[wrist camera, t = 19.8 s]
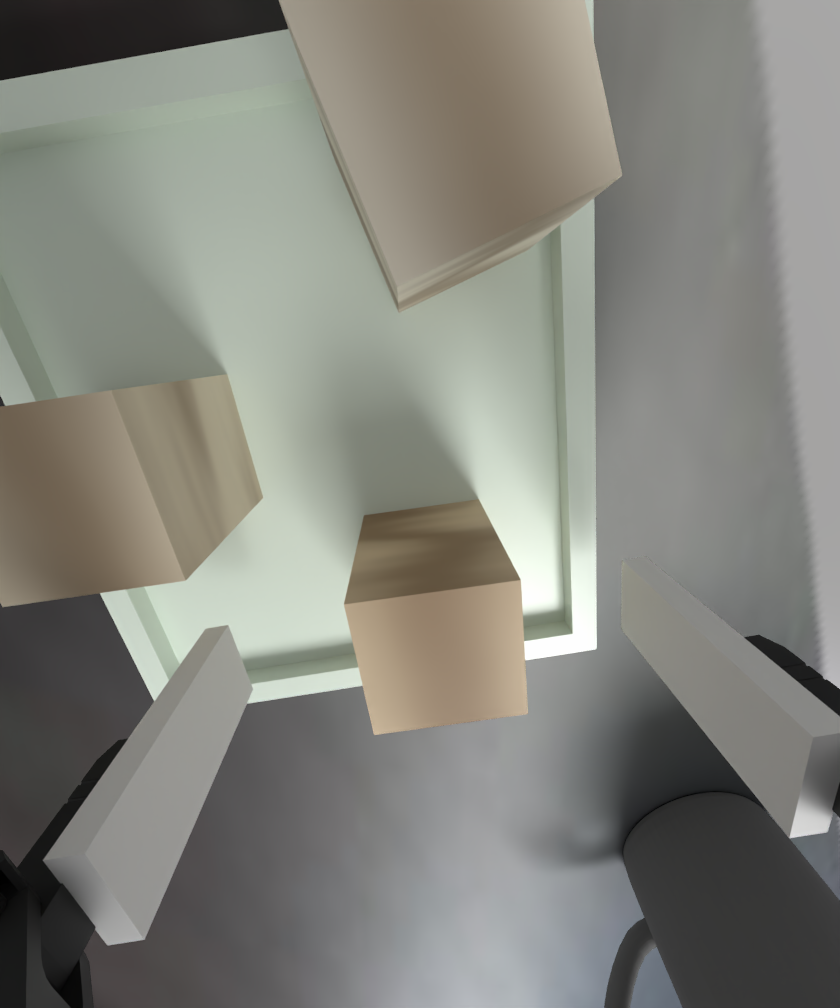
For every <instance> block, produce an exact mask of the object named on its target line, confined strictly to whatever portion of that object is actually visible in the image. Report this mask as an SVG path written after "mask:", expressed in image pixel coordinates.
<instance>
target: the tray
mask: <svg viewBox="0 0 840 1008" xmlns="http://www.w3.org/2000/svg"><path fill="white" fill-rule="evenodd" d="M585 4H586V8H587V13H588V18H589V22H590V27H591V31H592V36H593V41H594V32H593V0H585ZM225 374H228V378H229V381H230V385H231V388H232V392H233V395H234V399H235V402H236V405H237V409H238V412H239V416H240V419H241V423H242V426H243V430H244V433H245V436H246V440H247V443H248V447H249V450H250V454H251V457H252V460H253V464H254V467H255V471H256V474H257V478H258V481H259V485H260V488H261V491H262V495H263V499H262V500H261V501H260V502H259V503H258V504H257V505H256V506H255V507H254V508H253V509H252V510H251V511H250V512H249V514H248V515H247V516H246V517H245V518H244V519H243V520H242V521H241V522H240V523H239V524H238V525H237V526H236V527H235V529H234V530H233V531H232V532H231V533H230V534H229V535H228V536H227V537H226V538H225V539H224V540H223V541H222V542H221V543H220V545H219V546H218V547H217V548H216V549H215V550H214V551H213V552H212V553H211V554H210V555H209V556H208V557H207V558H206V560H205V561H204V562H203V563H202V564H201V565H200V566H199V567H198V568H197V569H196V570H195V571H194V572H193V573H192V575H191V576H190V577H189V578H188V579H187V580H186V581H181V582H174V583H167V584H160V585H153V586H146V587H139V588H132V589H125V590H118V591H111V592H104V593H100V595H101V597H102V599H103V600H104V602H105V604H106V606H107V608H108V610H109V612H110V614H111V616H112V618H113V620H114V622H115V624H116V626H117V628H118V630H119V632H120V634H121V636H122V638H123V640H124V642H125V644H126V646H127V648H128V650H129V652H130V654H131V656H132V658H133V660H134V662H135V664H136V666H137V668H138V670H139V672H140V674H141V676H142V678H143V680H144V682H145V684H146V686H147V688H148V690H149V692H150V694H151V696H152V698H153V700H154V701H155V700H156V698H157V697H158V696H159V694H160V693H161V691H162V690H163V689H164V687H165V686H166V684H167V683H168V681H169V680H170V679H171V677H172V676H173V674H174V673H175V671H176V670H177V669H178V667H179V666H180V664H181V663H182V661H183V660H184V659H185V657H186V656H187V654H188V653H189V651H190V650H191V649H192V647H193V646H194V644H195V643H196V641H197V640H198V639H199V637H200V636H201V634H202V633H203V632H204V630H205V629H207V628H213V627H219V626H225V625H228V626H229V628H230V631H231V633H232V636H233V638H234V641H235V644H236V646H237V649H238V651H239V654H240V657H241V659H242V662H243V664H244V667H245V669H246V672H247V675H248V677H249V680H250V682H251V685H252V687H253V691H252V693H251V695H250V698H249V700H248V702H247V704H248V703H254V702H261V701H267V700H273V699H280V698H286V697H293V696H299V695H306V694H312V693H318V692H325V691H331V690H338V689H344V688H351V687H357V686H363V685H362V680H361V676H360V672H359V668H358V663H357V659H356V655H355V650H354V646H353V642H352V638H351V633H350V629H349V625H348V620H347V616H346V612H345V608H344V601H345V597H346V593H347V588H348V584H349V579H350V575H351V570H352V566H353V562H354V557H355V553H356V548H357V544H358V539H359V535H360V530H361V526H362V522H363V517H364V515H370V514H377V513H384V512H391V511H399V510H406V509H413V508H420V507H427V506H434V505H442V504H449V503H456V502H463V501H470V500H477V499H479V501H480V502H481V504H482V506H483V508H484V510H485V512H486V514H487V516H488V518H489V520H490V522H491V524H492V525H493V527H494V529H495V531H496V533H497V535H498V537H499V539H500V541H501V543H502V545H503V547H504V549H505V550H506V552H507V554H508V556H509V558H510V560H511V562H512V564H513V566H514V568H515V570H516V572H517V573H518V575H519V577H520V579H521V590H522V609H523V628H524V647H525V660H531V659H537V658H543V657H550V656H556V655H563V654H569V653H576V652H582V651H588V650H595V649H597V635H596V434H595V233H594V198H593V199H592V200H591V201H589V202H588V203H587V204H586V205H584V206H583V207H582V208H581V209H579V210H578V211H577V212H575V213H574V214H573V215H572V216H570V217H569V218H568V219H567V220H565V221H564V222H563V223H562V224H560V225H559V226H558V227H556V228H555V229H554V230H553V231H551V232H550V233H549V234H548V235H546V236H545V237H544V238H543V239H541V240H540V241H539V242H538V243H536V244H535V245H534V246H532V247H531V248H530V249H529V250H527V251H525V252H523V253H521V254H519V255H517V256H515V257H513V258H511V259H509V260H507V261H505V262H503V263H501V264H499V265H496V266H494V267H492V268H490V269H488V270H486V271H484V272H482V273H480V274H478V275H476V276H474V277H472V278H470V279H468V280H466V281H464V282H462V283H459V284H457V285H455V286H453V287H451V288H449V289H447V290H445V291H443V292H441V293H439V294H437V295H435V296H433V297H431V298H429V299H427V300H425V301H422V302H420V303H418V304H416V305H414V306H412V307H410V308H408V309H406V310H404V311H402V312H400V313H399V312H398V310H397V307H396V305H395V303H394V300H393V298H392V296H391V293H390V291H389V288H388V286H387V284H386V281H385V279H384V276H383V274H382V272H381V269H380V267H379V265H378V262H377V260H376V257H375V255H374V253H373V250H372V248H371V245H370V243H369V241H368V238H367V236H366V234H365V231H364V229H363V226H362V224H361V222H360V219H359V217H358V214H357V212H356V210H355V207H354V205H353V203H352V200H351V198H350V195H349V193H348V191H347V188H346V186H345V183H344V181H343V179H342V176H341V174H340V172H339V169H338V167H337V164H336V162H335V160H334V157H333V154H332V151H331V149H330V146H329V143H328V140H327V137H326V134H325V131H324V129H323V126H322V123H321V120H320V117H319V114H318V111H317V109H316V106H315V103H314V100H313V97H312V94H311V91H310V89H309V86H308V83H307V80H306V77H305V74H304V71H303V69H302V66H301V63H300V60H299V57H298V54H297V51H296V49H295V46H294V43H293V40H292V37H291V34H290V31H289V29H286V30H280V31H275V32H269V33H264V34H258V35H252V36H247V37H241V38H236V39H230V40H225V41H219V42H213V43H208V44H202V45H197V46H191V47H185V48H180V49H174V50H169V51H163V52H158V53H152V54H146V55H141V56H135V57H130V58H124V59H119V60H113V61H107V62H102V63H96V64H91V65H85V66H80V67H74V68H68V69H63V70H57V71H52V72H46V73H40V74H35V75H29V76H24V77H18V78H13V79H7V80H1V81H0V396H1V398H2V400H3V402H4V404H5V406H8V405H15V404H22V403H29V402H35V401H42V400H49V399H56V398H62V397H69V396H76V395H83V394H89V393H96V392H103V391H110V390H117V389H124V388H131V387H139V386H146V385H153V384H160V383H167V382H175V381H182V380H189V379H196V378H204V377H211V376H218V375H225Z"/></svg>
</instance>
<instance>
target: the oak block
mask: <svg viewBox="0 0 840 1008" xmlns="http://www.w3.org/2000/svg"><path fill="white" fill-rule="evenodd" d="M344 608H345V612H346V616H347V620H348V625H349V629H350V633H351V638H352V642H353V646H354V650H355V655H356V659H357V663H358V668H359V672H360V676H361V680H362V685H363V689H364V693H365V698H366V702H367V706H368V710H369V715H370V719H371V723H372V728H373V732H374V735H378V734H385V733H392V732H400V731H407V730H414V729H422V728H429V727H436V726H444V725H451V724H459V723H466V722H473V721H481V720H488V719H495V718H503V717H510V716H517V715H525V714H528V704H527V685H526V666H525V647H524V628H523V609H522V590H521V579H520V577H519V575H518V573H517V572H516V570H515V568H514V566H513V564H512V562H511V560H510V558H509V556H508V554H507V552H506V550H505V549H504V547H503V545H502V543H501V541H500V539H499V537H498V535H497V533H496V531H495V529H494V527H493V525H492V524H491V522H490V520H489V518H488V516H487V514H486V512H485V510H484V508H483V506H482V504H481V502H480V501H479V499H477V500H470V501H463V502H456V503H449V504H442V505H434V506H427V507H420V508H413V509H406V510H399V511H391V512H384V513H377V514H370V515H364V517H363V522H362V526H361V530H360V535H359V539H358V544H357V548H356V553H355V557H354V562H353V566H352V570H351V575H350V579H349V584H348V588H347V593H346V597H345V601H344Z"/></svg>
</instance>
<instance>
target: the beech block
mask: <svg viewBox="0 0 840 1008" xmlns="http://www.w3.org/2000/svg"><path fill="white" fill-rule="evenodd" d="M262 499H263V495H262V491H261V488H260V485H259V481H258V478H257V474H256V471H255V467H254V464H253V460H252V457H251V454H250V450H249V447H248V443H247V440H246V436H245V433H244V430H243V426H242V423H241V419H240V416H239V412H238V409H237V405H236V402H235V399H234V395H233V392H232V388H231V385H230V381H229V378H228V374H225V375H218V376H211V377H204V378H196V379H189V380H182V381H175V382H167V383H160V384H153V385H146V386H139V387H131V388H124V389H117V390H110V391H103V392H96V393H89V394H83V395H76V396H69V397H62V398H56V399H49V400H42V401H35V402H29V403H22V404H15V405H8V406H2V407H0V603H1V605H2V606H3V607H7V606H14V605H21V604H28V603H35V602H42V601H49V600H56V599H63V598H70V597H77V596H84V595H90V594H97V593H104V592H111V591H118V590H125V589H132V588H139V587H146V586H153V585H160V584H167V583H174V582H181V581H186V580H187V579H188V578H189V577H190V576H191V575H192V573H193V572H194V571H195V570H196V569H197V568H198V567H199V566H200V565H201V564H202V563H203V562H204V561H205V560H206V558H207V557H208V556H209V555H210V554H211V553H212V552H213V551H214V550H215V549H216V548H217V547H218V546H219V545H220V543H221V542H222V541H223V540H224V539H225V538H226V537H227V536H228V535H229V534H230V533H231V532H232V531H233V530H234V529H235V527H236V526H237V525H238V524H239V523H240V522H241V521H242V520H243V519H244V518H245V517H246V516H247V515H248V514H249V512H250V511H251V510H252V509H253V508H254V507H255V506H256V505H257V504H258V503H259V502H260V501H261V500H262Z"/></svg>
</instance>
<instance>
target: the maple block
mask: <svg viewBox="0 0 840 1008" xmlns="http://www.w3.org/2000/svg"><path fill="white" fill-rule="evenodd" d="M279 3H280V6H281V9H282V11H283V14H284V17H285V20H286V23H287V26H288V29H289V31H290V34H291V37H292V40H293V43H294V46H295V49H296V51H297V54H298V57H299V60H300V63H301V66H302V69H303V71H304V74H305V77H306V80H307V83H308V86H309V89H310V91H311V94H312V97H313V100H314V103H315V106H316V109H317V111H318V114H319V117H320V120H321V123H322V126H323V129H324V131H325V134H326V137H327V140H328V143H329V146H330V149H331V151H332V154H333V157H334V160H335V162H336V164H337V167H338V169H339V172H340V174H341V176H342V179H343V181H344V183H345V186H346V188H347V191H348V193H349V195H350V198H351V200H352V203H353V205H354V207H355V210H356V212H357V214H358V217H359V219H360V222H361V224H362V226H363V229H364V231H365V234H366V236H367V238H368V241H369V243H370V245H371V248H372V250H373V253H374V255H375V257H376V260H377V262H378V265H379V267H380V269H381V272H382V274H383V276H384V279H385V281H386V284H387V286H388V288H389V291H390V293H391V296H392V298H393V300H394V303H395V305H396V307H397V310H398V312H399V313H400V312H402V311H404V310H406V309H408V308H410V307H412V306H414V305H416V304H418V303H420V302H422V301H425V300H427V299H429V298H431V297H433V296H435V295H437V294H439V293H441V292H443V291H445V290H447V289H449V288H451V287H453V286H455V285H457V284H459V283H462V282H464V281H466V280H468V279H470V278H472V277H474V276H476V275H478V274H480V273H482V272H484V271H486V270H488V269H490V268H492V267H494V266H496V265H499V264H501V263H503V262H505V261H507V260H509V259H511V258H513V257H515V256H517V255H519V254H521V253H523V252H525V251H527V250H529V249H530V248H531V247H532V246H534V245H535V244H536V243H538V242H539V241H540V240H541V239H543V238H544V237H545V236H546V235H548V234H549V233H550V232H551V231H553V230H554V229H555V228H556V227H558V226H559V225H560V224H562V223H563V222H564V221H565V220H567V219H568V218H569V217H570V216H572V215H573V214H574V213H575V212H577V211H578V210H579V209H581V208H582V207H583V206H584V205H586V204H587V203H588V202H589V201H591V200H592V199H593V198H594V197H596V196H597V195H598V194H600V193H601V192H602V191H603V190H605V189H606V188H607V187H608V186H610V185H611V184H612V183H613V182H615V181H616V180H617V179H619V178H620V177H621V176H622V171H621V167H620V162H619V157H618V153H617V148H616V143H615V139H614V134H613V129H612V125H611V120H610V115H609V111H608V106H607V101H606V97H605V92H604V87H603V83H602V78H601V73H600V69H599V64H598V59H597V55H596V50H595V45H594V41H593V36H592V31H591V27H590V22H589V18H588V13H587V8H586V4H585V0H279Z"/></svg>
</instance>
